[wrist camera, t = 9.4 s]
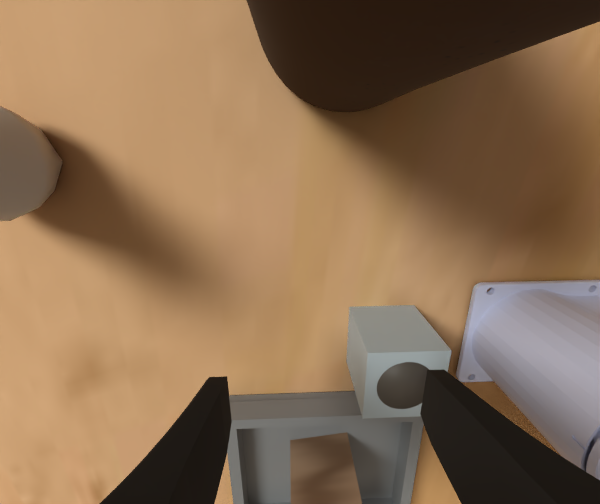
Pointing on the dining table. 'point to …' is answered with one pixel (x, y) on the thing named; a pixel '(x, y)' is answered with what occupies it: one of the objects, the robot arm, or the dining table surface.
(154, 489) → the robot arm
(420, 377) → the wide bore block
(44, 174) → the salt shaker
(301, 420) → the tray
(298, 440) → the small bore block
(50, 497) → the dining table surface
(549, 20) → the olive oil
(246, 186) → the dining table surface
